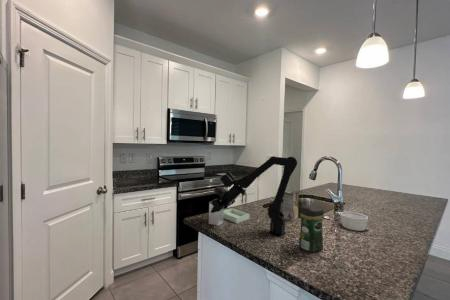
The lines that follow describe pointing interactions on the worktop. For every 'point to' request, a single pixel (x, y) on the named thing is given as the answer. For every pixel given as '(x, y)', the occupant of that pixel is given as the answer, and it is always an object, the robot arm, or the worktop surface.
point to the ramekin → (354, 221)
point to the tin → (215, 216)
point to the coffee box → (290, 205)
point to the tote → (235, 215)
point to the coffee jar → (311, 228)
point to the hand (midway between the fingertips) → (214, 210)
